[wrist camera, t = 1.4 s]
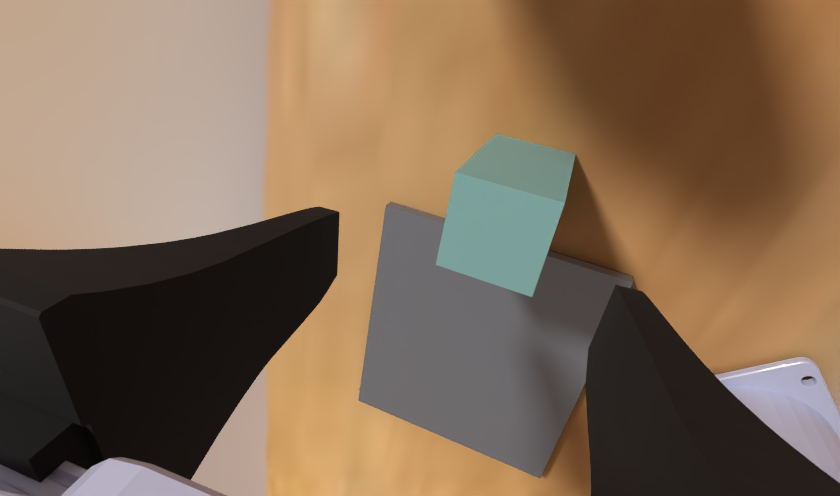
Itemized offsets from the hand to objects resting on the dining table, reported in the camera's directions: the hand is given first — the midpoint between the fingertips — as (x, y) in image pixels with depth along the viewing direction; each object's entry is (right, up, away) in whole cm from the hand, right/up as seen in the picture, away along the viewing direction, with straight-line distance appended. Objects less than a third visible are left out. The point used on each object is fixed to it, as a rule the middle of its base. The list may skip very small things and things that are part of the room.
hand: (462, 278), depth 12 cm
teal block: (+4, +4, +9) cm, 10 cm away
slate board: (+2, -5, +13) cm, 14 cm away
